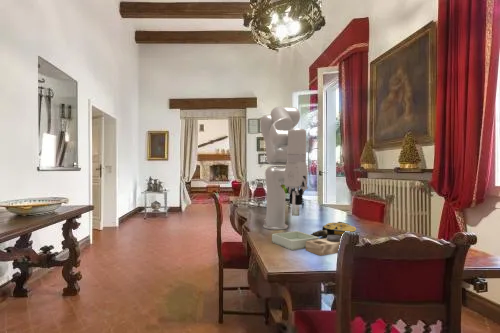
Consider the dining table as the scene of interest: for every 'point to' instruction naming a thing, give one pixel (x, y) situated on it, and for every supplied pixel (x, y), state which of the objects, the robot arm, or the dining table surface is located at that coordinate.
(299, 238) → the tray
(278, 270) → the dining table surface
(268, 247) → the dining table surface
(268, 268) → the dining table surface
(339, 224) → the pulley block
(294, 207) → the lock pin
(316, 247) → the tan base block
